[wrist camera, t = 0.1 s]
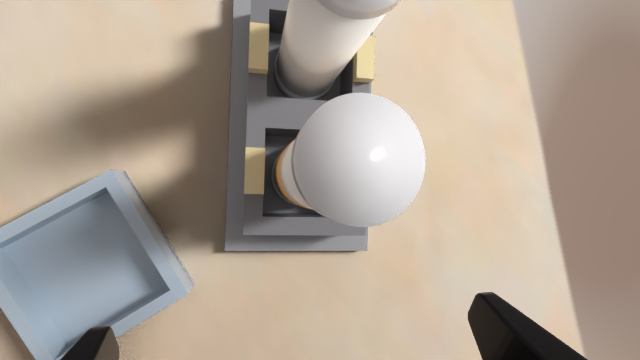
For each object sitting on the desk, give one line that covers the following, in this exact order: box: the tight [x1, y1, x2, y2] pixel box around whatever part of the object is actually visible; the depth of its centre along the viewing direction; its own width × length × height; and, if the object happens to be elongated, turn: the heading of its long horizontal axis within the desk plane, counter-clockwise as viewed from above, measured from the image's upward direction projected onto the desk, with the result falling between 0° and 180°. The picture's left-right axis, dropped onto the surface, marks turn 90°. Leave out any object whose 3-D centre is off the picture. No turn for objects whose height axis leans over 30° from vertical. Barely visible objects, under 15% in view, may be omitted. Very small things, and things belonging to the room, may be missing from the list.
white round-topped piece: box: [271, 93, 425, 227], centre depth 17 cm, size 4×4×13 cm
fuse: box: [274, 0, 401, 100], centre depth 17 cm, size 4×4×13 cm
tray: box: [0, 169, 194, 360], centre depth 20 cm, size 8×8×2 cm
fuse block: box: [225, 0, 375, 251], centre depth 22 cm, size 16×9×5 cm, turn 178°
